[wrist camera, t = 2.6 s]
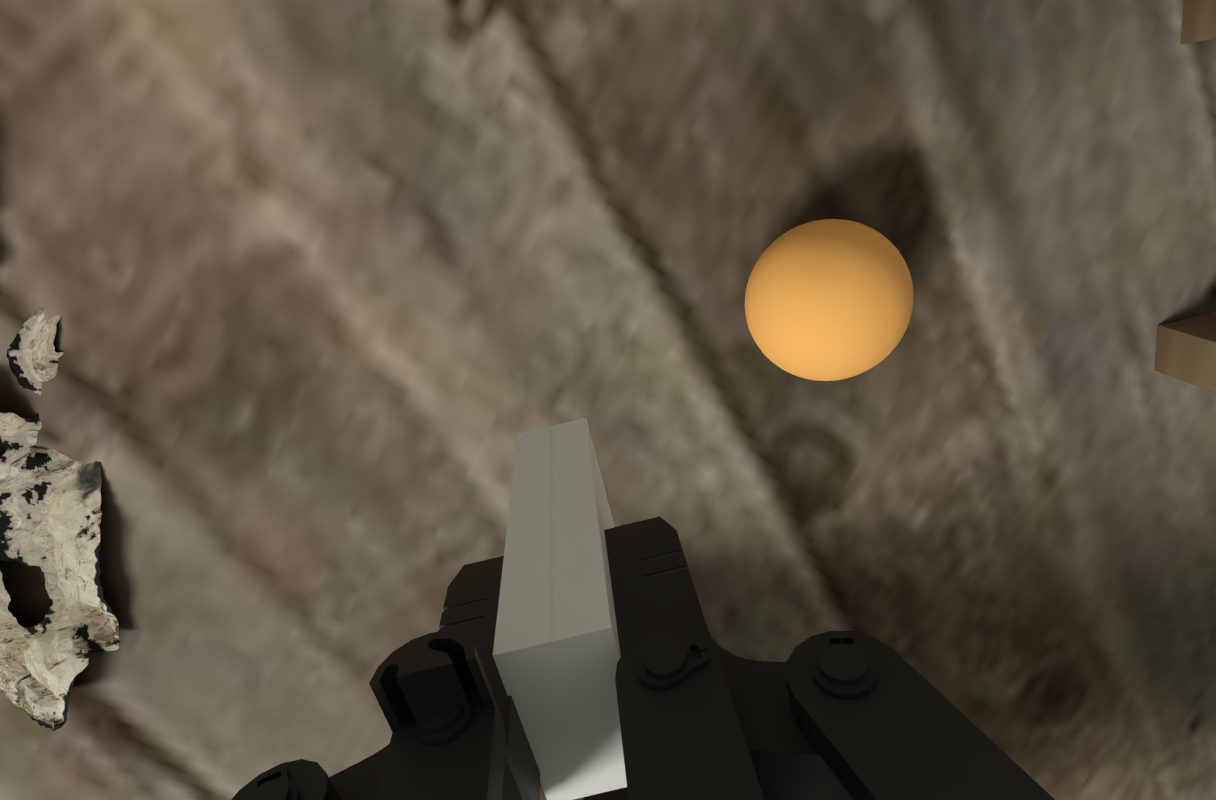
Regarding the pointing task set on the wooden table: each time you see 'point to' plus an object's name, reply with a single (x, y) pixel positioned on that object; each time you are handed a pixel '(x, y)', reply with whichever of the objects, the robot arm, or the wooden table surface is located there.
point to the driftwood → (49, 547)
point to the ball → (829, 299)
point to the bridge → (1211, 342)
